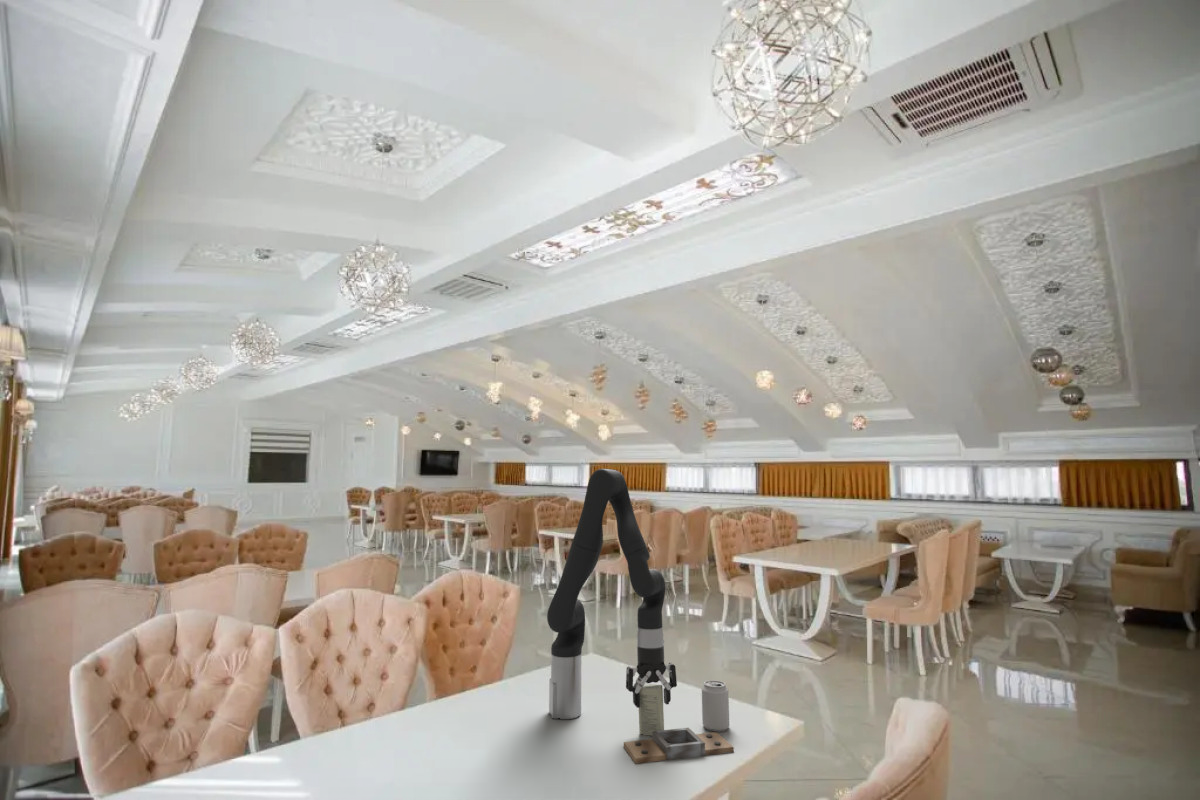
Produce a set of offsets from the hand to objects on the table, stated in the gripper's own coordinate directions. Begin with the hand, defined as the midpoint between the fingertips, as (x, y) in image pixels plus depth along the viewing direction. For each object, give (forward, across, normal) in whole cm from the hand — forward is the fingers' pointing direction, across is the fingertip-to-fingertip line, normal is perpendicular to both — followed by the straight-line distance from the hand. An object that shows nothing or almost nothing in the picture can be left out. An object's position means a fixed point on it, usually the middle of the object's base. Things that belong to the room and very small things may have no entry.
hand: (652, 705), depth 166 cm
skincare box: (+7, 0, 0) cm, 7 cm away
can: (+8, -19, +1) cm, 20 cm away
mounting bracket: (+7, -3, +12) cm, 14 cm away
